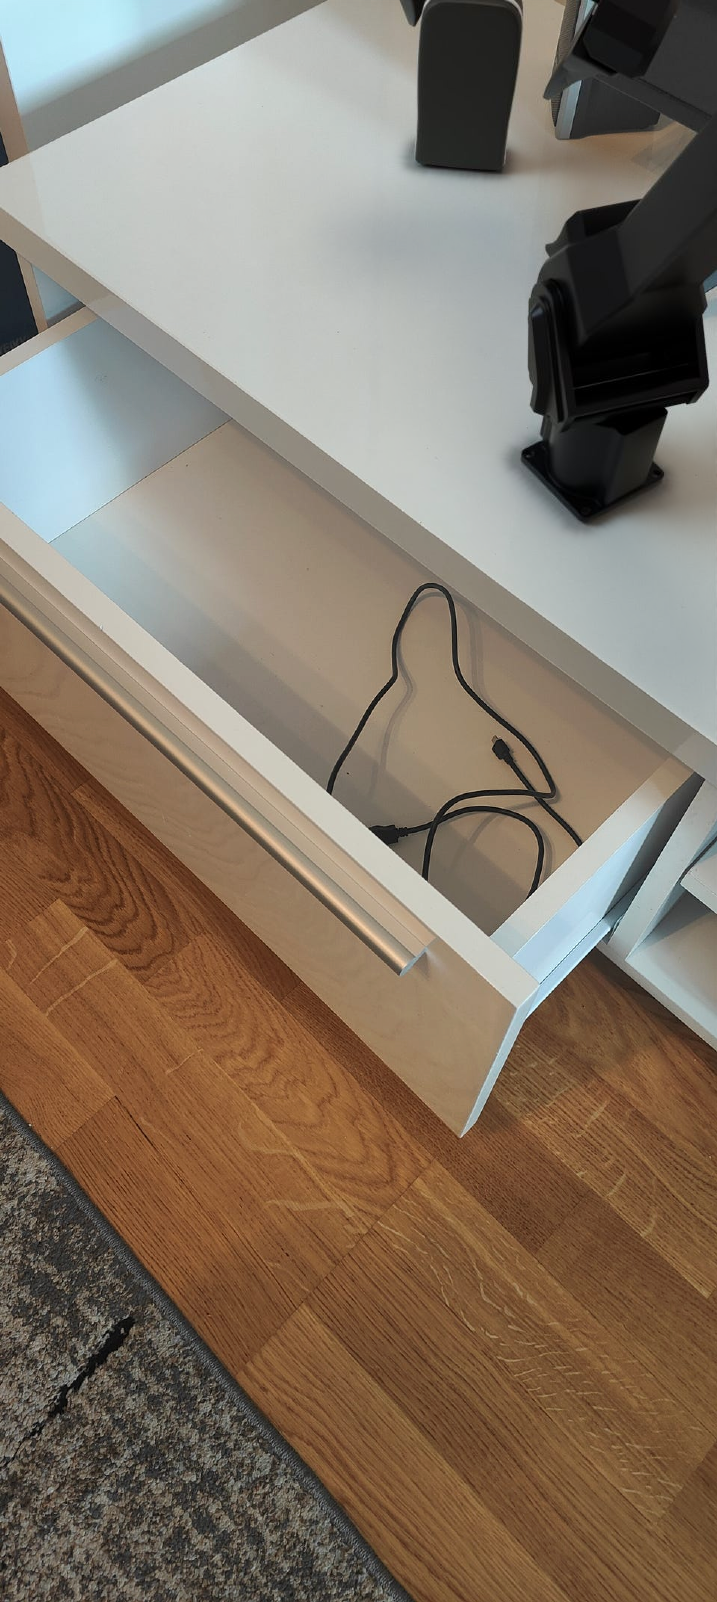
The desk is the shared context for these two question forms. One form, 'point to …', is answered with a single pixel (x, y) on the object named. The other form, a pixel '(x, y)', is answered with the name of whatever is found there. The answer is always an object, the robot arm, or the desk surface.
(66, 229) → the desk surface
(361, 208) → the desk surface
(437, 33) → the battery charger
